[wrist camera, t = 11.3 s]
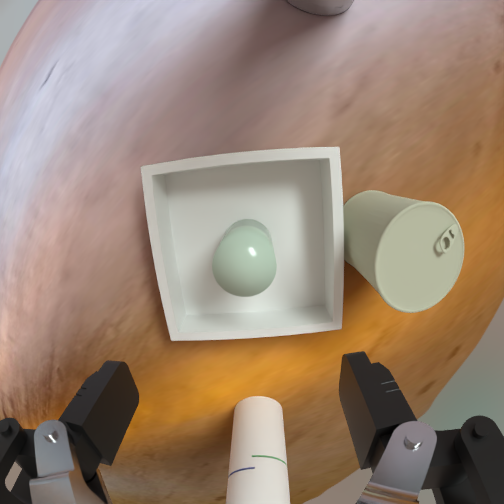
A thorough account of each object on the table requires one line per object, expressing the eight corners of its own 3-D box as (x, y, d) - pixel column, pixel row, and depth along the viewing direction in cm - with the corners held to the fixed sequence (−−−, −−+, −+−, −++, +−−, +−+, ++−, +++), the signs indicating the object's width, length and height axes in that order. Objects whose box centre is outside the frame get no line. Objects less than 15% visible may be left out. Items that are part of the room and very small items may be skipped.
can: (418, 234, 30) (480, 263, 19) (364, 284, 32) (409, 336, 20) (376, 173, 28) (437, 176, 17) (317, 227, 30) (352, 260, 19)
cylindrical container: (226, 402, 37) (207, 560, 13) (273, 391, 36) (282, 558, 12) (245, 429, 39) (238, 569, 15) (288, 419, 38) (301, 564, 14)
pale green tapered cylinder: (221, 221, 29) (207, 238, 21) (269, 216, 29) (274, 232, 21) (226, 267, 31) (216, 299, 23) (273, 263, 30) (278, 294, 23)
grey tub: (158, 167, 29) (140, 166, 24) (326, 151, 28) (339, 146, 23) (181, 318, 33) (171, 340, 29) (330, 308, 33) (341, 329, 28)
